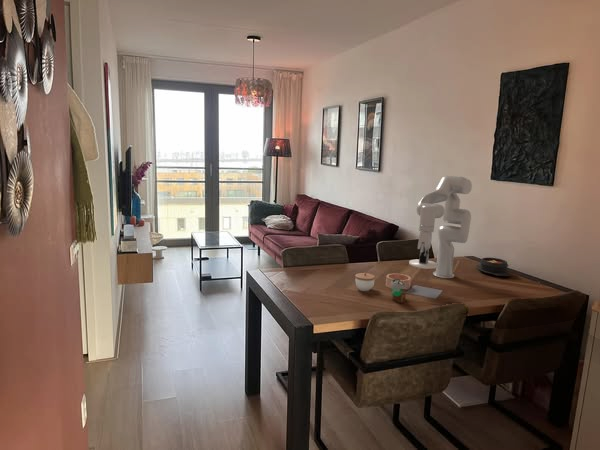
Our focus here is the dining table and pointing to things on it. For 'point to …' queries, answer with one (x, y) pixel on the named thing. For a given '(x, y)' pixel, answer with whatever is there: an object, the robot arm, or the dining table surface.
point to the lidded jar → (364, 281)
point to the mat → (424, 291)
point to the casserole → (494, 266)
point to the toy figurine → (398, 291)
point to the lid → (423, 265)
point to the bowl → (403, 278)
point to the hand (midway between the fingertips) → (423, 261)
